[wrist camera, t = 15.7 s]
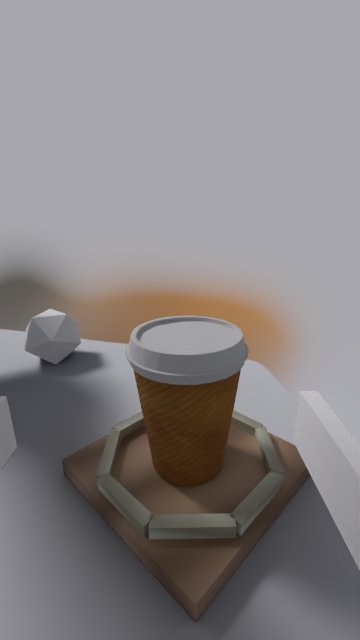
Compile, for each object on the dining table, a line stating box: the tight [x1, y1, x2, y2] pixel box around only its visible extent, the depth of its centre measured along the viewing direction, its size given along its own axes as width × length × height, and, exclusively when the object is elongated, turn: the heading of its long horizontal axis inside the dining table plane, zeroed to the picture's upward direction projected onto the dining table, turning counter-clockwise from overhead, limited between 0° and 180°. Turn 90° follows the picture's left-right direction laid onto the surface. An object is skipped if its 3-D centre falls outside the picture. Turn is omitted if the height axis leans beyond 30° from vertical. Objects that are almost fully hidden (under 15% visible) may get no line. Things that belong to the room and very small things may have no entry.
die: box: [25, 309, 81, 365], centre depth 52 cm, size 8×9×10 cm
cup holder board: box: [62, 410, 310, 622], centre depth 29 cm, size 16×16×2 cm
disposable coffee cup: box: [125, 316, 248, 486], centre depth 27 cm, size 10×10×12 cm
